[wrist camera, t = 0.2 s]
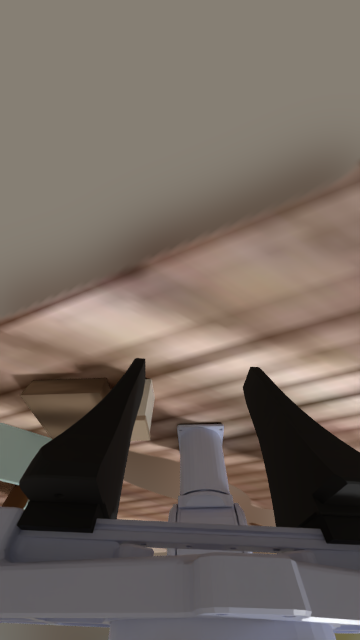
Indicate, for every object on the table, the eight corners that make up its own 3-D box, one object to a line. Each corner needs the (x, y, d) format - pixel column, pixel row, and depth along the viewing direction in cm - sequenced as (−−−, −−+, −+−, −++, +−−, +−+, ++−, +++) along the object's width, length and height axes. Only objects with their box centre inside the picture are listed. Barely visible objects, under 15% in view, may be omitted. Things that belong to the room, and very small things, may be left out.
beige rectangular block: (155, 397, 30) (149, 440, 24) (128, 398, 30) (116, 440, 24) (152, 378, 28) (144, 420, 22) (122, 379, 28) (108, 421, 22)
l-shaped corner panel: (3, 419, 34) (-40, 469, 28) (69, 440, 37) (45, 489, 31) (-7, 447, 39) (-45, 495, 33) (52, 464, 42) (29, 510, 36)
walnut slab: (123, 420, 34) (118, 437, 31) (62, 421, 34) (52, 439, 31) (107, 375, 28) (99, 392, 25) (34, 378, 28) (19, 395, 26)
